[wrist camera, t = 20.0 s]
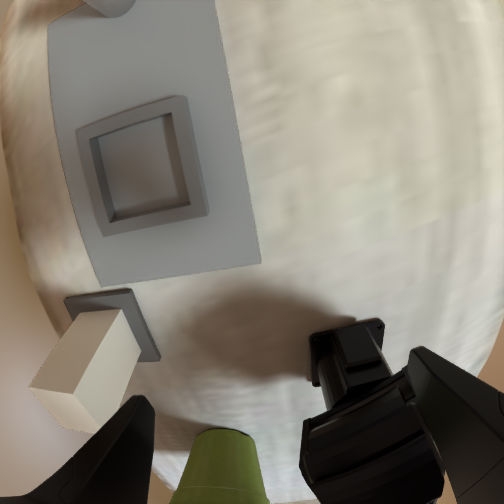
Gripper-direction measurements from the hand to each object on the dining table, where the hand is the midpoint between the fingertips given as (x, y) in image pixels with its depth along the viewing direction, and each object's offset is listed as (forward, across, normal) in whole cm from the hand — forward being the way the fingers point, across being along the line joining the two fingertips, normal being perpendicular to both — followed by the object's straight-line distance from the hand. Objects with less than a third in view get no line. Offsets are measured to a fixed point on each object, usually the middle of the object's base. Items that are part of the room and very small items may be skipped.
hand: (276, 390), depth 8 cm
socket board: (+12, +6, -10) cm, 17 cm away
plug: (+11, +14, +5) cm, 19 cm away
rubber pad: (+12, +14, +5) cm, 19 cm away
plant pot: (+12, +9, +24) cm, 28 cm away
